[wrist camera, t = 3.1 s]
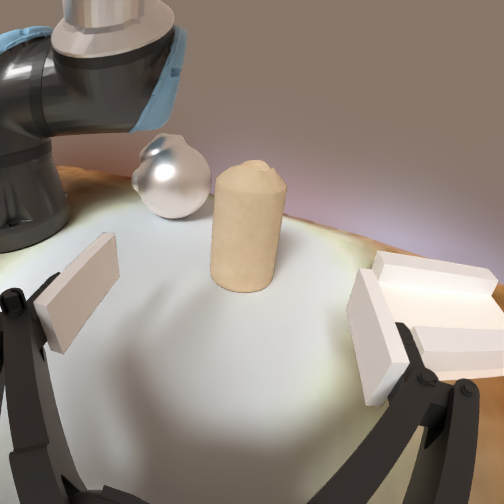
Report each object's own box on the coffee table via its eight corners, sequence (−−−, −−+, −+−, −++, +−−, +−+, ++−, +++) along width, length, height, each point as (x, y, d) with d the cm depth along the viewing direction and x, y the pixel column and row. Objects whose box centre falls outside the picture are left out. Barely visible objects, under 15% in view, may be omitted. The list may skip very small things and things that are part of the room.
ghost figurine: (181, 197, 44) (184, 127, 39) (223, 220, 38) (231, 138, 33) (123, 210, 38) (121, 132, 33) (158, 238, 32) (158, 143, 27)
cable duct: (405, 381, 18) (424, 351, 17) (368, 276, 30) (377, 250, 29) (531, 372, 18) (548, 347, 17) (478, 290, 30) (488, 268, 28)
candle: (225, 253, 31) (234, 152, 26) (279, 268, 30) (297, 164, 25) (198, 281, 26) (204, 163, 22) (260, 301, 25) (279, 178, 20)
